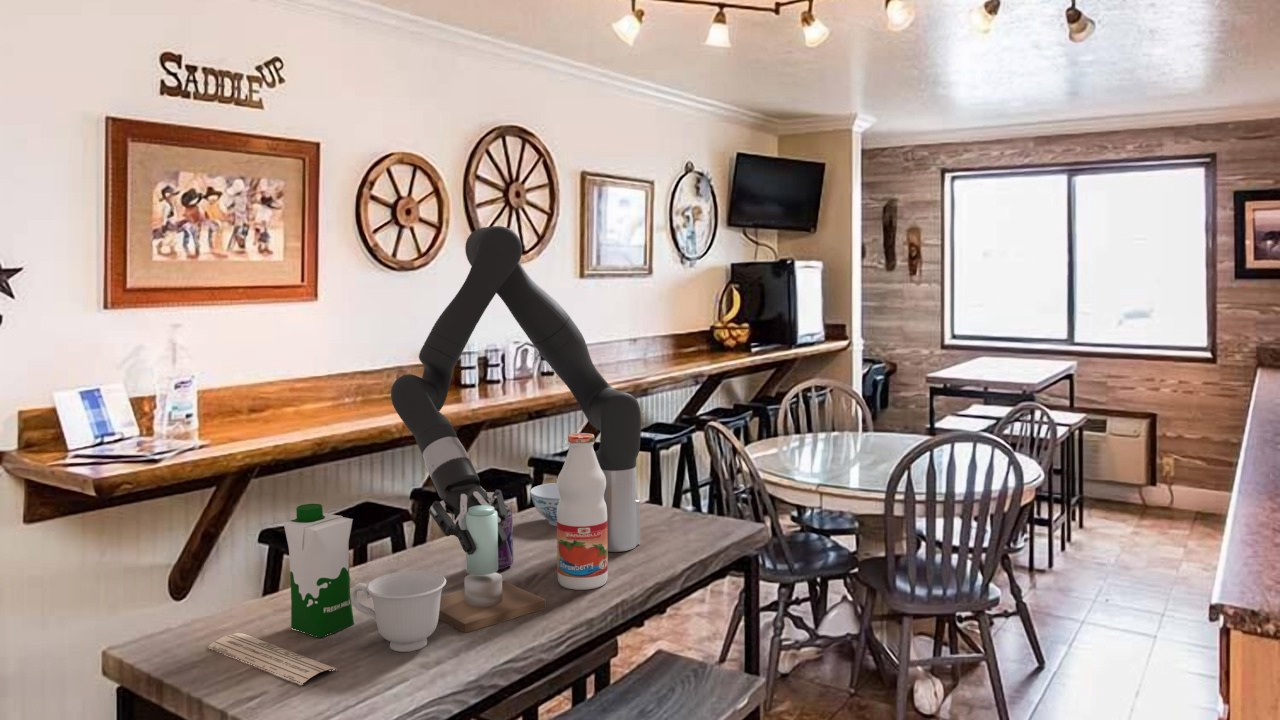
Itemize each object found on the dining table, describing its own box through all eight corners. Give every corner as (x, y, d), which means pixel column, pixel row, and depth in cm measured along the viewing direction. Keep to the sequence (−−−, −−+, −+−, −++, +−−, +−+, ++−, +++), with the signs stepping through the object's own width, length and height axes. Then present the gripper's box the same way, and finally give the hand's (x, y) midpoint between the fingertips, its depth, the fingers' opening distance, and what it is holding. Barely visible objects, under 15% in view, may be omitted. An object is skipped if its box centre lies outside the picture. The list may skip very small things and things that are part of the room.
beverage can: (506, 573, 177) (505, 512, 176) (471, 571, 179) (470, 510, 177) (518, 561, 184) (517, 503, 183) (484, 559, 185) (483, 501, 184)
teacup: (365, 629, 150) (363, 569, 149) (455, 629, 149) (454, 570, 148) (338, 660, 138) (336, 596, 137) (437, 661, 137) (435, 596, 136)
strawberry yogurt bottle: (607, 573, 177) (606, 430, 174) (607, 590, 167) (606, 439, 165) (558, 574, 176) (557, 430, 174) (556, 591, 167) (554, 440, 164)
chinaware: (517, 523, 212) (516, 490, 211) (563, 510, 223) (563, 479, 222) (563, 535, 202) (562, 501, 201) (609, 521, 213) (608, 488, 212)
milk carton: (326, 613, 157) (321, 498, 155) (362, 623, 152) (358, 506, 150) (282, 630, 149) (277, 510, 148) (319, 642, 145) (314, 518, 143)
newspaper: (208, 653, 143) (207, 642, 142) (250, 637, 148) (249, 627, 148) (302, 691, 129) (302, 679, 129) (344, 673, 135) (343, 661, 135)
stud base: (500, 587, 169) (500, 558, 169) (545, 608, 159) (544, 577, 158) (422, 609, 158) (421, 578, 158) (465, 632, 148) (464, 600, 148)
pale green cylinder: (487, 562, 162) (486, 502, 161) (504, 570, 158) (503, 508, 157) (460, 569, 158) (459, 508, 157) (477, 577, 154) (476, 514, 153)
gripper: (421, 461, 157) (459, 545, 149) (492, 450, 166) (531, 528, 159) (407, 486, 161) (443, 569, 154) (477, 474, 171) (514, 551, 163)
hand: (487, 548), depth 156 cm, fingers closed on pale green cylinder, 5 cm apart
